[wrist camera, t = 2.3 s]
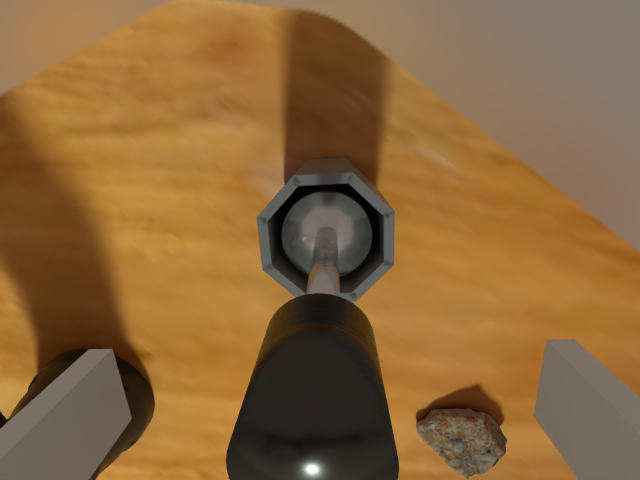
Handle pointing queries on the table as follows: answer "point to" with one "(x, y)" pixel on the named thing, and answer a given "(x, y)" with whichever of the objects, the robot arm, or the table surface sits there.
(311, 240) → the plunger
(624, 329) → the table surface
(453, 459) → the rock
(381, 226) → the press carafe
